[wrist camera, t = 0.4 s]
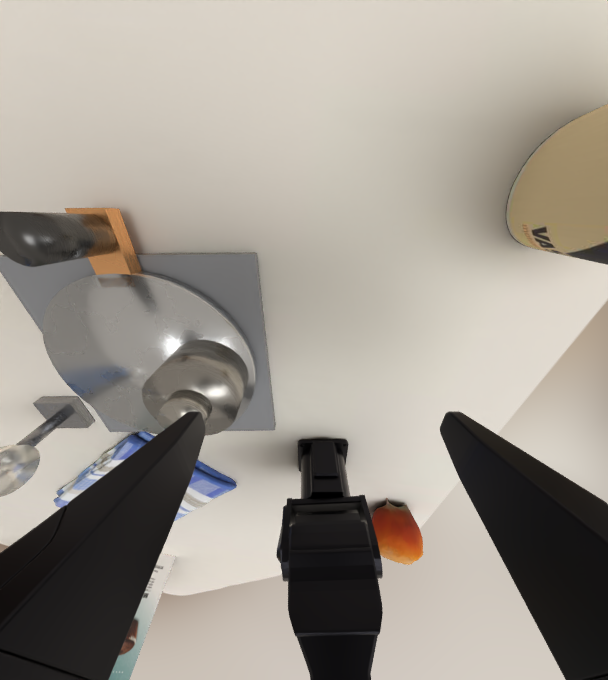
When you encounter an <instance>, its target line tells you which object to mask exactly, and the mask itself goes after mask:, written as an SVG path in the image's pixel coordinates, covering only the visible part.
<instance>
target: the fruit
mask: <svg viewBox="0 0 608 680" xmlns="http://www.w3.org/2000/svg"><path fill="white" fill-rule="evenodd" d="M386 501H387V504H386V505H385V506H383V507H380V508H377V509H376V511H375V512H374V513H373V517H372V523H373V526H374V530H375V533H376V537H377V541H378V546H379V551H380V555H382V556H383V557H384V558H387V559H390V560H393V561H395V562H398V563H403V564H408V565H409V564H412V563H413V562H414V561H416V560H418V559H419V558H420V557H421V556H422V555H423V541H422V536H421V533H420V529H419V527H418V525H417V523H416V522H415V520H414V518H413V516H412V514H411V512H410V510H409V509H408V507H407V505H404V506H401V507H395V506H393V505H392V504H390V503H389V502H388V498H386Z"/></svg>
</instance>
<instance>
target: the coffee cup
mask: <svg viewBox="0 0 608 680" xmlns="http://www.w3.org/2000/svg"><path fill="white" fill-rule="evenodd" d="M506 219H507V225H508V228H509V231H510V233H511V235H512V236H513V237H514V238H515V239H516V240H517V241H518V242H519V243H521V244H523V245H525V246H528V247H531V248H535V249H539V250H543V251H548V252H552V253H557V254H561V255H566V256H571V257H575V258H580V259H585V260H589V261H594V262H598V263H603V264H608V104H607V105H604V106H602V107H600V108H598V109H596V110H594V111H592V112H590V113H587V114H585V115H583V116H581V117H579V118H577V119H575V120H573V121H571V122H570V123H568V124H566V125H565V126H563V127H562V128H560V129H559V130H557V131H556V132H555V133H554V134H552V135H551V136H550V137H549V138H548V139H547V140H546V141H545V142H543V143H542V144H541V145H540V146H539V147H538V148H537V150H536V151H535V152H534V153H533V154H532V155H531V157H530V158H529V159H528V161H527V162H526V163H525V165H524V166H523V168H522V170H521V171H520V173H519V174H518V176H517V178H516V180H515V182H514V184H513V187H512V190H511V192H510V195H509V199H508V203H507V211H506Z"/></svg>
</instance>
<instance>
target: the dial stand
mask: <svg viewBox="0 0 608 680" xmlns="http://www.w3.org/2000/svg"><path fill="white" fill-rule="evenodd" d="M33 404H34V406H35V407H36V408H37V409H38V410H39V411H40V413H41V414H42V415H43V416H44V417H45V418H46V419H47V421H45V422H44V423H43V424H41V425H40V426H39V427H38V428H36V429H35V430H34V431H33V432H31V433H30V434H29V435H27V436H26V437H25V438H24V439H22V440H21V441H20V442H19V443H17V444H16V445H9V446H4V447H1V448H0V497H1V496H5V495H7V494H10V493H12V492H14V491H15V490H17V489H19V488H20V487H21V486H23V485H24V484H25V483H26V482H27V481H28V480H29V479H30V478H31V477H32V476H33V474H34V473H35V471H36V469H37V467H38V465H39V461H40V455H39V452H38V450H37V449H36V448H35V446H36V445H37V444H38V443H39V442H40V441H42V440H43V439H44V438H45V437H46V436H47V435H49V434H50V433H51V432H52V431H53V430H55V429H56V428H88V427H89V426H90V425H91V424H92V423H93V422H94V421H95V420H94V419H93V417H92V416H91V415H90V413H89V412H88V410H87V409H86V408H85V406H84V405H83V403H82V402H81V401H80V399H79V398H78V397H42V398H40V399H39V400H37V401H36V402H34V403H33Z"/></svg>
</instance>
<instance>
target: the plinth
mask: <svg viewBox="0 0 608 680" xmlns="http://www.w3.org/2000/svg"><path fill="white" fill-rule="evenodd" d="M136 257H137V259H138V262H139V265H140V268H141V270H142V271H144V272H149V273H155V274H159V275H162V276H165V277H169V278H172V279H175V280H177V281H179V282H182V283H184V284H186V285H189V286H190V287H192V288H194V289H196V290H198V291H199V292H201V293H203V294H204V295H206V296H207V297H209V298H210V299H211V300H213V301H214V302H216V303H217V304H218V305H219V306H220V307H221V308H223V309H224V310H225V311H226V312H227V313H228V314H229V315H230V316H231V317H232V318H233V320H234V321H235V322H236V323H237V324H238V326H239V327H240V328H241V330H242V331H243V333H244V334H245V336H246V338H247V340H248V341H249V343H250V345H251V348H252V351H253V353H254V357H255V361H256V368H257V378H256V385H255V388H254V392H253V395H252V399H251V401H250V403H249V405H248V407H247V409H246V410H245V411H244V413H243V414H242V415H241V416H240V417H239V418H238V419H237V420H236V421H234V422H233V424H232V425H231V426H230V427H228V428H227V429H226V430H224V431H254V430H275V416H274V407H273V398H272V389H271V380H270V371H269V361H268V352H267V343H266V334H265V325H264V315H263V306H262V297H261V288H260V279H259V270H258V260H257V253H195V254H136ZM0 272H1V273H2V275H3V276H4V278H5V279H6V281H7V282H8V284H9V285H10V286H11V288H12V289H13V291H14V292H15V294H16V295H17V297H18V298H19V300H20V301H21V303H22V304H23V305H24V307H25V308H26V310H27V311H28V313H29V314H30V316H31V317H32V319H33V320H34V322H35V323H36V325H37V326H38V327H39V329H40V330H41V332H42V333H43V319H44V315H45V312H46V309H47V307H48V305H49V304H50V302H51V300H52V299H53V298H54V296H55V295H56V294H57V293H58V292H59V291H60V290H62V289H63V288H65V287H66V286H67V285H69V284H70V283H73V282H75V281H77V280H80V279H82V278H85V277H89V276H93V275H96V273H95V271H94V269H93V267H92V265H91V263H90V261H89V259H88V258H82V259H76V260H71V261H65V262H60V263H54V264H48V265H43V266H37V267H28V266H24V265H21V264H19V263H16V262H15V261H13V260H11V259H10V258H8V257H7V256H6V255H2V256H0ZM93 408H94V407H93ZM94 409H95V408H94ZM95 411H96V412H97V414H98V415H99V417H100V418H101V420H102V421H103V423H104V424H105V425H106V427H107V428H108V430H109V431H110V432H144V431H142V430H139V429H136V428H133V427H130V426H128V425H125V424H123V423H121V422H118V421H116V420H114V419H112V418H110V417H109V416H107V415H105V414H103V413H102V412H100V411H98V410H97V409H95Z"/></svg>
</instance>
